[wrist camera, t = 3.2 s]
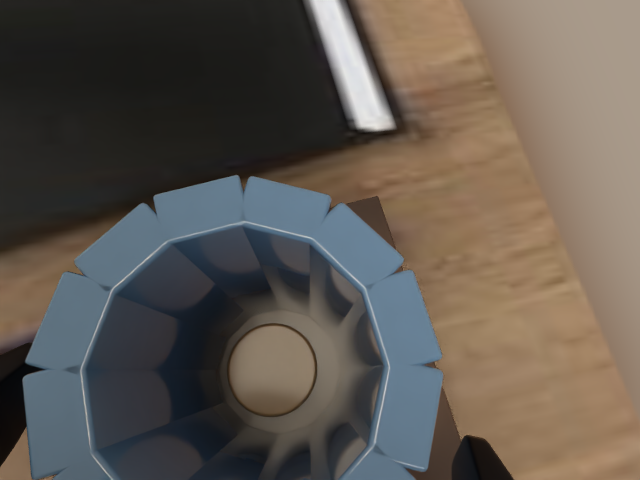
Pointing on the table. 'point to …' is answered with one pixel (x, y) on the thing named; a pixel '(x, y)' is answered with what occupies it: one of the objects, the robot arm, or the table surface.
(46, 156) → the table surface
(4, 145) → the table surface
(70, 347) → the vase
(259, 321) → the platform
